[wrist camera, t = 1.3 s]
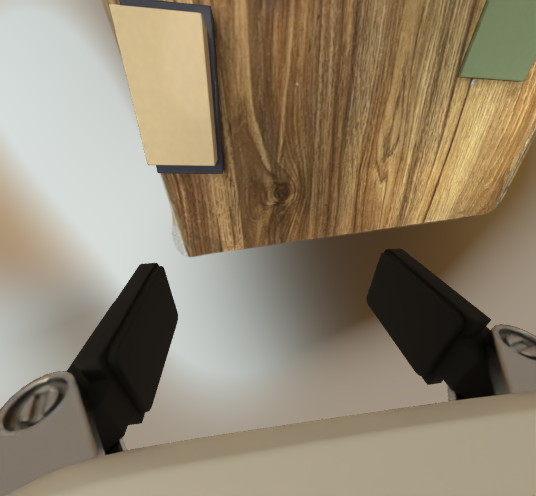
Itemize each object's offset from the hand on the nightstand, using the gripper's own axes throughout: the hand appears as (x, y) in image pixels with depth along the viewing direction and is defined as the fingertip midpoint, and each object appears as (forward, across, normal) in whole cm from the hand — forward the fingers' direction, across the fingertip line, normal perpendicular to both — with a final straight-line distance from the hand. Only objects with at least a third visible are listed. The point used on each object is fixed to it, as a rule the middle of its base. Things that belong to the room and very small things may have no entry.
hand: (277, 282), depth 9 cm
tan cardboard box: (+20, +7, -8) cm, 22 cm away
